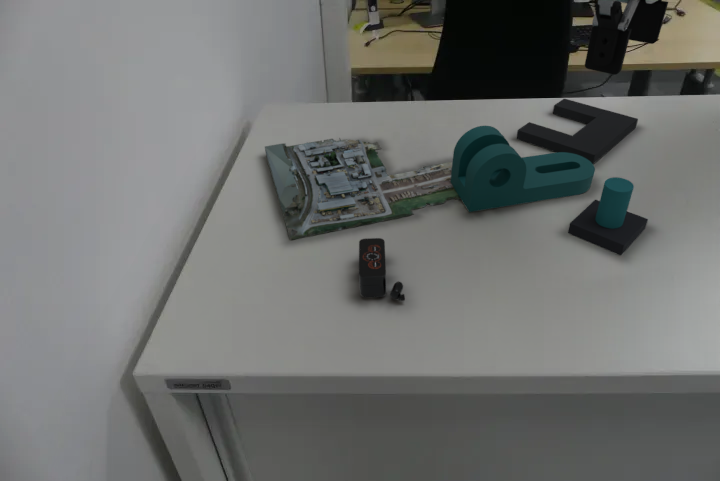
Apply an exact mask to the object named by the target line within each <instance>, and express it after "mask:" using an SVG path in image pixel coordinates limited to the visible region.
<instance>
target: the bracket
mask: <svg viewBox="0 0 720 481" xmlns="http://www.w3.org/2000/svg"><path fill="white" fill-rule="evenodd" d="M452 161H453V162H452ZM452 161H451V162H452V172H451V181H450V182H451V184H452V185H453V187H454V189H455V190H456V192H457V193H458V195H459V197H460V198H461V199H460V200H461V201H462V203H463V205H464V206H465V208H466V210H467V211H468V212H469V213H473V212H478V211H484V210H491V209H497V208H504V207H509V206H516V205H523V204H528V203H534V202H541V201H546V200H547V201H548V200H553V199H560V198H565V197H572V196H578V195H582V194H584V193H586V192H588V191H589V190H590V188H591V186H592V183H593V180H594V176H595V172H596V167H595V164H592V163H591V162H590V161H589V160H588V159H586V158H584V157H582V156H580V155H577V154H573V153H566V152H550V153H543V154H537V155H529V156H522V157H521V155H520V154H519V153H518V152H517V151H516V149H515V148H514V147H513V146H511V144H510V143H509V141H508V140H507V138H506V137H505V136H504V135H503V134H502V133H501V132H500V130H498V128H495V127H494V126H492V125H479V126H478V125H477V126H476V127H473V128H471V129H469V130H467V131H466V132H464V134H462V135H461V136H460V137H459V139H458V140H457V142H456V144H455V145H454V149H453V153H452Z"/></svg>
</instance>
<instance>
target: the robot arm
mask: <svg viewBox="0 0 720 481" xmlns="http://www.w3.org/2000/svg"><path fill="white" fill-rule="evenodd" d="M622 3H623V4H626V5H625V7H624V9H623V6H622ZM668 5H669V1H668V0H597V1H596V3H595V5H594V11H595V12H594V15H593V18H592V21H591V22H592V24H591V25H592V28H591V33H590V37H589V42H588V47H587V51H586V56H585V61H584V68H586V69H587V70H591V71H596V72H600V73H605V74H609V75H618V74H619V73H621V71H622V69H623V66H624V62H625V57H626V52H627V50H628V49H627V48H628V45H629V41H633V42H639V43H644V44H650V45H653V44H655V43H656V42H658V40H659V37H660V34H661V29H662V26H663V22H664V19H665V16H666V12H667V8H668Z"/></svg>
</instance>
